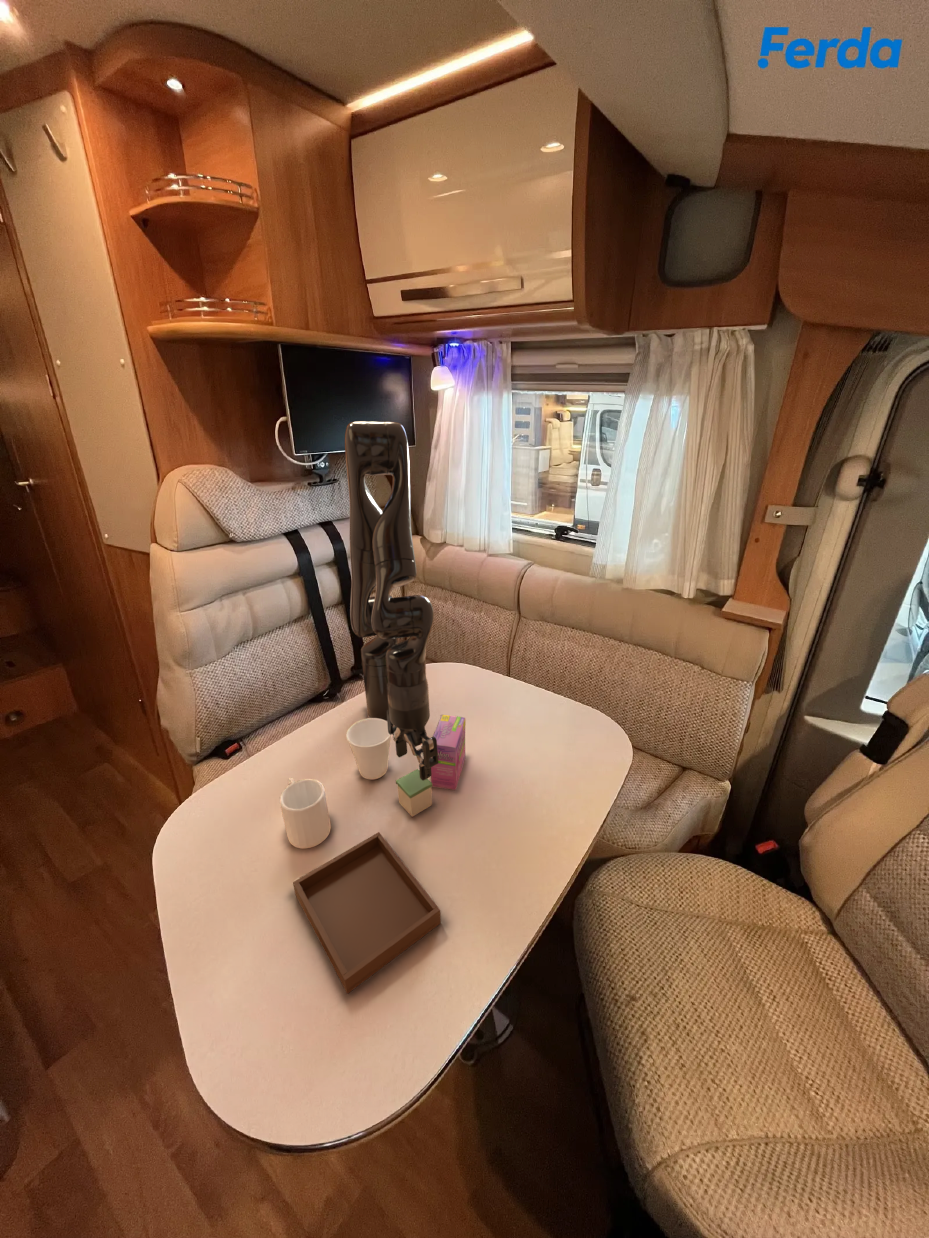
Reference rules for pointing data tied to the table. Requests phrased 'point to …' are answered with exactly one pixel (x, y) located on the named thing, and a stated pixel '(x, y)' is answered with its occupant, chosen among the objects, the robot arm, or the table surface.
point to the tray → (365, 909)
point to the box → (449, 752)
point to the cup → (370, 746)
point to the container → (414, 793)
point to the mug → (305, 813)
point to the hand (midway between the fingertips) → (413, 765)
